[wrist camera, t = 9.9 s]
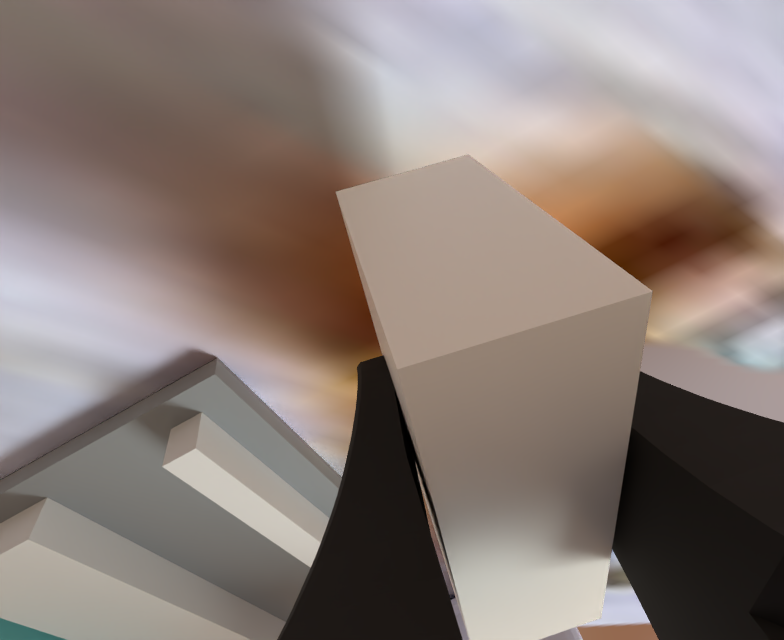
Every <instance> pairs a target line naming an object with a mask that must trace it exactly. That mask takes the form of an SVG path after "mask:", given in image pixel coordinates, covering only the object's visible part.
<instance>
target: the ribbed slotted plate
mask: <svg viewBox="0 0 784 640" xmlns="http://www.w3.org/2000/svg"><path fill="white" fill-rule="evenodd" d="M341 480H342V477H341V476H340V475H339V474H338V473H337V472H336V471H334V470H333V469H332V468H331V467H330V466H329V465H328V464H327V463H326V462H325V461H324V460H323V459H322V458H321V457H320V456H319V455H318V454H317V453H316V452H315V451H314V450H313V449H312V448H311V447H309V446H308V445H307V444H306V443H305V442H304V441H303V440H302V439H301V438H300V437H299V436H298V435H297V434H296V433H295V432H294V431H293V430H292V429H291V428H290V427H289V426H288V425H287V424H286V423H285V422H283V421H282V420H281V419H280V418H279V417H278V416H277V415H276V414H275V413H274V412H273V411H272V410H271V409H270V408H269V407H268V406H267V405H266V404H265V403H264V402H263V401H262V400H261V399H260V398H259V397H257V396H256V395H255V394H254V393H253V392H252V391H251V390H250V389H249V388H248V387H247V386H246V385H245V384H244V383H243V382H242V381H241V380H240V379H239V378H238V377H237V376H236V375H235V374H234V373H233V372H231V371H230V370H229V369H228V368H227V367H226V366H225V365H224V364H223V363H222V362H221V361H220V360H219V359H218V358H216V359H215V360H213V361H211V362H209V363H208V364H206V365H204V366H202V367H200V368H199V369H197V370H195V371H193V372H192V373H190V374H188V375H186V376H184V377H183V378H181V379H179V380H177V381H176V382H174V383H172V384H170V385H168V386H167V387H165V388H163V389H161V390H160V391H158V392H156V393H154V394H152V395H151V396H149V397H147V398H145V399H144V400H142V401H140V402H138V403H137V404H135V405H133V406H131V407H129V408H128V409H126V410H124V411H122V412H121V413H119V414H117V415H115V416H113V417H112V418H110V419H108V420H106V421H105V422H103V423H101V424H99V425H97V426H96V427H94V428H92V429H90V430H89V431H87V432H85V433H83V434H81V435H80V436H78V437H76V438H74V439H73V440H71V441H69V442H67V443H66V444H64V445H62V446H60V447H58V448H57V449H55V450H53V451H51V452H50V453H48V454H46V455H44V456H42V457H41V458H39V459H37V460H35V461H34V462H32V463H30V464H28V465H26V466H25V467H23V468H21V469H19V470H18V471H16V472H14V473H12V474H10V475H9V476H7V477H5V478H3V479H2V480H0V618H2V619H5V620H8V621H11V622H14V623H17V624H20V625H23V626H27V627H30V628H33V629H36V630H39V631H42V632H45V633H48V634H51V635H54V636H57V637H60V638H63V639H66V640H277V639H278V637H279V635H280V633H281V631H282V629H283V627H284V625H285V623H286V621H287V619H288V617H289V615H290V613H291V611H292V609H293V606H294V604H295V602H296V600H297V597H298V595H299V593H300V591H301V588H302V586H303V584H304V582H305V579H306V577H307V575H308V573H309V570H310V568H311V566H312V564H313V561H314V559H315V556H316V554H317V551H318V549H319V546H320V543H321V541H322V538H323V535H324V532H325V530H326V527H327V524H328V521H329V518H330V516H331V513H332V510H333V507H334V503H335V500H336V497H337V494H338V490H339V487H340V483H341Z"/></svg>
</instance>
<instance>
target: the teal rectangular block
mask: <svg viewBox="0 0 784 640" xmlns="http://www.w3.org/2000/svg"><path fill="white" fill-rule="evenodd" d="M0 640H66V639H63V638H60V637H57V636H54V635H51V634H48V633H45V632H42V631H39V630H36V629H33V628H30V627H27V626H23V625H20V624H17V623H14V622H11V621H8V620H5V619H2V618H0Z"/></svg>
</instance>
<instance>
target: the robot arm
mask: <svg viewBox="0 0 784 640" xmlns="http://www.w3.org/2000/svg"><path fill="white" fill-rule="evenodd" d="M357 372H358V390H357V402H356V411H355V417H354V424H353V431H352V437H351V441H350V446H349V450H348V455H347V460H346V464H345V468H344V472H343V476H342V480H341V483H340V487H339V490H338V494H337V497H336V500H335V503H334V507H333V510H332V513H331V516H330V518H329V521H328V524H327V527H326V530H325V532H324V535H323V538H322V541H321V543H320V546H319V549H318V551H317V554H316V556H315V559H314V561H313V564H312V566H311V568H310V570H309V573H308V575H307V577H306V579H305V582H304V584H303V586H302V588H301V591H300V593H299V595H298V597H297V600H296V602H295V604H294V606H293V609H292V611H291V613H290V615H289V617H288V619H287V621H286V623H285V625H284V627H283V629H282V631H281V633H280V635H279V637H278V639H277V640H469V638H468V635H467V632H466V629H465V626H464V622H463V619H462V616H461V613H460V610H459V606H458V603H457V600H456V598H454V599H452V600H450V596H449V593H448V590H447V587H446V583H445V580H444V577H443V574H442V570H441V567H440V564H439V560H438V557H437V554H436V551H435V547H434V544H433V541H432V538H431V534H430V529H429V524H428V519H427V515H426V510H425V505H424V501H423V496H422V491H421V486H420V482H419V477H418V472H417V468H416V463H415V459H414V455H413V452H412V448H411V444H410V441H409V437H408V434H407V430H406V427H405V423H404V420H403V416H402V413H401V409H400V405H399V402H398V398H397V395H396V391H395V388H394V384H393V381H392V378H391V375H390V372H389V369H388V366H387V363H386V360H385V357H384V355H383V356H380V357H376V358H373V359H370V360H367V361H363V362H360V364H359V365H358V367H357ZM612 549H613V551H614V553H615V555H616V557H617V559H618V561H619V563H620V564H621V566H622V568H623V570H624V572H625V574H626V576H627V578H628V580H629V581H630V583H631V585H632V587H633V589H634V591H635V593H636V595H637V597H638V599H639V601H640V603H641V605H642V607H643V609H644V611H645V613H646V615H647V617H648V619H649V621H650V623H651V625H652V627H653V629H654V631H655V633H656V635H657V637H658V639H659V640H784V423H783V422H780V421H776V420H772V419H769V418H765V417H762V416H759V415H756V414H753V413H749V412H746V411H743V410H740V409H737V408H734V407H731V406H728V405H724V404H721V403H718V402H716V401H713V400H710V399H707V398H704V397H701V396H699V395H696V394H693V393H691V392H689V391H686V390H683V389H681V388H678V387H676V386H673V385H671V384H668V383H666V382H663V381H661V380H659V379H656V378H654V377H652V376H649V375H647V374H645V373H643V372H640V374H639V381H638V387H637V393H636V400H635V406H634V412H633V419H632V425H631V431H630V438H629V444H628V450H627V457H626V463H625V469H624V476H623V482H622V488H621V495H620V501H619V507H618V514H617V520H616V526H615V533H614V539H613V546H612ZM539 640H583V639H582V637H581V635H580V633H579V631H578V629H577V627H574V628H571V629H568V630H565V631H563V632H560V633H557V634H554V635H551V636H548V637H545V638H542V639H539Z"/></svg>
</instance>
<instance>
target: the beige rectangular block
mask: <svg viewBox="0 0 784 640" xmlns="http://www.w3.org/2000/svg"><path fill="white" fill-rule="evenodd" d="M336 195H337V199H338V202H339V206H340V209H341V212H342V216H343V219H344V223H345V226H346V230H347V233H348V237H349V240H350V244H351V247H352V251H353V254H354V258H355V261H356V265H357V268H358V272H359V275H360V279H361V282H362V286H363V289H364V293H365V296H366V299H367V303H368V306H369V310H370V313H371V317H372V320H373V324H374V327H375V331H376V334H377V338H378V341H379V345H380V348H381V352H382V355H384V357H385V360H386V363H387V366H388V369H389V372H390V375H391V378H392V381H393V384H394V388H395V391H396V395H397V398H398V402H399V405H400V409H401V413H402V416H403V420H404V423H405V427H406V430H407V434H408V437H409V441H410V444H411V448H412V452H413V455H414V459H415V463H416V468H417V472H418V477H419V481H420V485H421V488H422V491H423V494H424V497H425V501H426V504H427V507H428V510H429V513H430V517H431V520H432V523H433V526H434V529H435V533H436V536H437V539H438V542H439V545H440V549H441V552H442V555H443V558H444V561H445V565H446V568H447V571H448V574H449V578H450V581H451V584H452V587H453V590H454V594H455V597H456V600H457V603H458V606H459V610H460V613H461V616H462V619H463V622H464V626H465V629H466V632H467V635H468V638H469V640H539V639H542V638H545V637H548V636H551V635H554V634H557V633H560V632H563V631H565V630H568V629H571V628H574V627H577V626H580V625H583V624H586V623H589V622H591V621H594V620H597V619H600V618H601V615H602V609H603V603H604V596H605V590H606V584H607V577H608V571H609V565H610V558H611V552H612V546H613V539H614V533H615V526H616V520H617V514H618V507H619V501H620V495H621V488H622V482H623V476H624V469H625V463H626V457H627V450H628V444H629V438H630V431H631V425H632V419H633V412H634V406H635V400H636V393H637V387H638V381H639V374H640V368H641V361H642V355H643V349H644V342H645V336H646V330H647V323H648V317H649V311H650V304H651V298H652V292H653V291H651V290H650V289H649V288H647V287H646V286H645V285H643V284H642V283H641V282H639V281H638V280H637V279H635V278H634V277H633V276H631V275H630V274H629V273H627V272H626V271H624V270H623V269H622V268H620V267H619V266H618V265H616V264H615V263H614V262H612V261H611V260H610V259H608V258H607V257H606V256H604V255H603V254H602V253H600V252H599V251H598V250H596V249H595V248H593V247H592V246H591V245H589V244H588V243H587V242H585V241H584V240H583V239H581V238H580V237H579V236H577V235H576V234H575V233H573V232H572V231H571V230H569V229H568V228H567V227H565V226H564V225H563V224H561V223H560V222H558V221H557V220H556V219H554V218H553V217H552V216H550V215H549V214H548V213H546V212H545V211H544V210H542V209H541V208H540V207H538V206H537V205H536V204H534V203H533V202H532V201H530V200H529V199H528V198H526V197H525V196H523V195H522V194H521V193H519V192H518V191H517V190H515V189H514V188H513V187H511V186H510V185H509V184H507V183H506V182H505V181H503V180H502V179H501V178H499V177H498V176H497V175H495V174H494V173H492V172H491V171H490V170H488V169H487V168H486V167H484V166H483V165H482V164H480V163H479V162H478V161H476V160H475V159H474V158H472V157H471V156H470V155H464V156H461V157H457V158H454V159H450V160H447V161H443V162H440V163H436V164H432V165H429V166H425V167H422V168H418V169H415V170H411V171H407V172H404V173H400V174H397V175H393V176H390V177H386V178H383V179H379V180H375V181H372V182H368V183H365V184H361V185H358V186H354V187H351V188H347V189H343V190H340V191H336Z"/></svg>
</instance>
